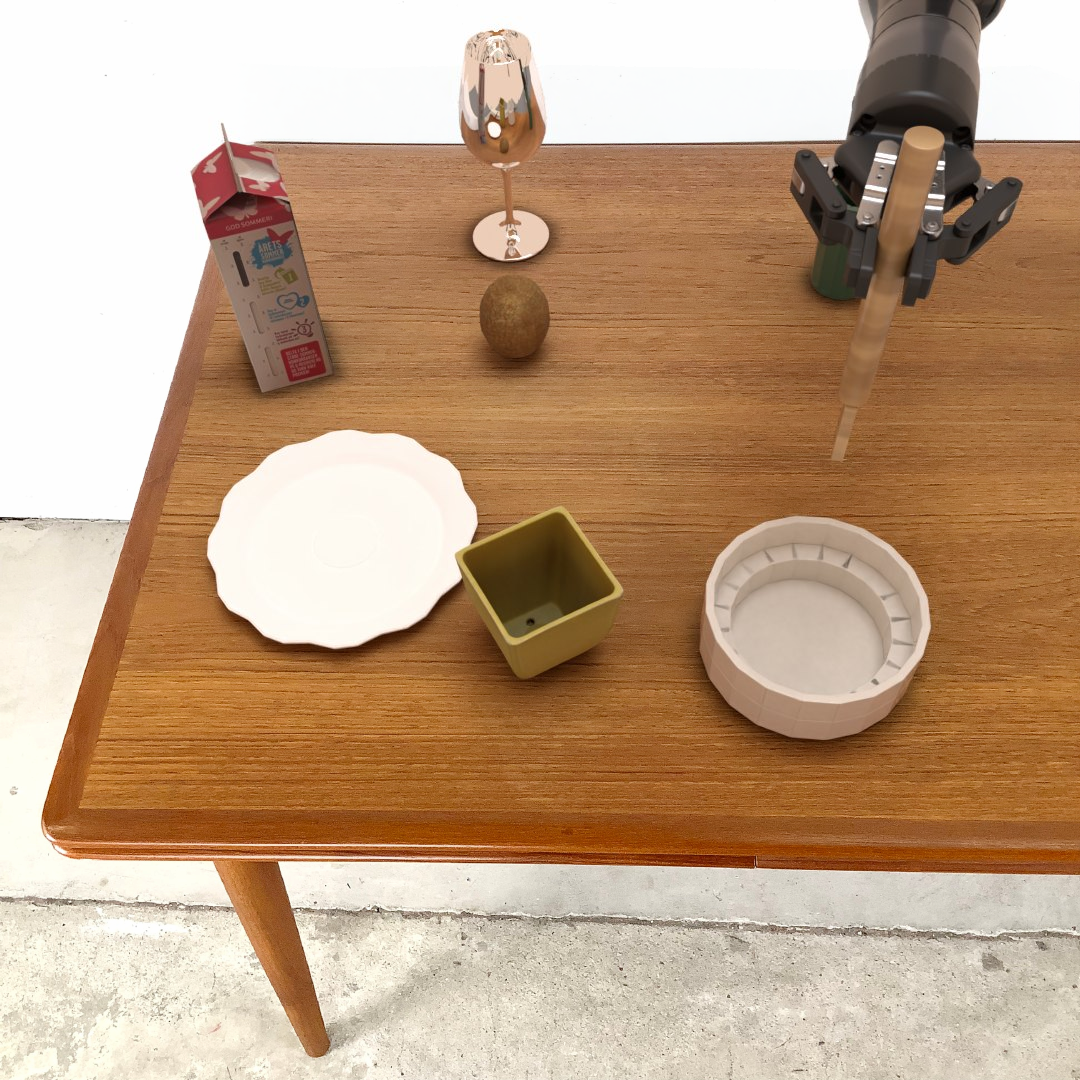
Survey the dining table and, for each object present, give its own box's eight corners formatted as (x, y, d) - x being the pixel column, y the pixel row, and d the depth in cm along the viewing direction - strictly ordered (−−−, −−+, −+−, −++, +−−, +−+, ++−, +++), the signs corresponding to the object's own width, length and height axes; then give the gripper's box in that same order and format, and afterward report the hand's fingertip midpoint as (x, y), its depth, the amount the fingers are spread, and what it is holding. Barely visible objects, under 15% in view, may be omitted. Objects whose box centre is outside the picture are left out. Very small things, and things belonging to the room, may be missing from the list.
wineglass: (543, 267, 108) (535, 75, 91) (463, 259, 109) (441, 68, 92) (556, 215, 112) (551, 23, 96) (480, 208, 113) (462, 18, 97)
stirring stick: (826, 429, 77) (906, 119, 57) (856, 435, 77) (946, 124, 57) (821, 458, 75) (901, 149, 56) (851, 463, 75) (943, 155, 56)
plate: (179, 641, 85) (172, 630, 83) (257, 433, 97) (253, 420, 95) (450, 670, 82) (448, 659, 81) (496, 454, 94) (495, 441, 93)
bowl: (777, 530, 89) (788, 482, 84) (949, 639, 82) (972, 594, 77) (657, 657, 82) (661, 613, 77) (833, 785, 76) (849, 747, 71)
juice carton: (319, 324, 104) (263, 113, 86) (334, 373, 100) (279, 163, 83) (248, 342, 103) (177, 132, 85) (261, 392, 99) (189, 184, 82)
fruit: (541, 319, 104) (538, 250, 97) (559, 366, 100) (557, 298, 93) (475, 333, 103) (467, 265, 96) (491, 381, 99) (484, 313, 93)
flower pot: (565, 572, 87) (563, 501, 80) (623, 658, 82) (626, 591, 75) (463, 620, 85) (451, 552, 77) (517, 711, 80) (509, 647, 73)
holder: (830, 255, 107) (850, 165, 99) (877, 278, 105) (901, 189, 97) (799, 283, 105) (816, 194, 97) (846, 308, 103) (868, 219, 95)
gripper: (813, 37, 69) (768, 216, 59) (1049, 64, 66) (1042, 255, 57) (795, 144, 75) (752, 321, 65) (1010, 172, 72) (998, 361, 63)
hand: (887, 289), depth 61 cm, fingers closed on stirring stick, 2 cm apart
